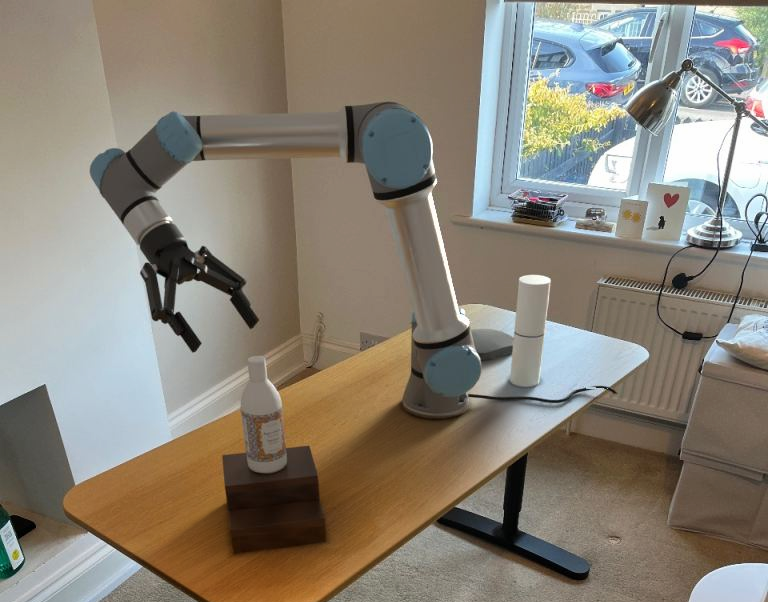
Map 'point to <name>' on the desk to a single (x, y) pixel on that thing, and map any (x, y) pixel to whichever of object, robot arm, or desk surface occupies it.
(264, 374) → the bath foam
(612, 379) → the desk surface
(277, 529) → the stepped brown block
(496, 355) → the media streaming box
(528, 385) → the cylindrical container
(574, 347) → the desk surface
